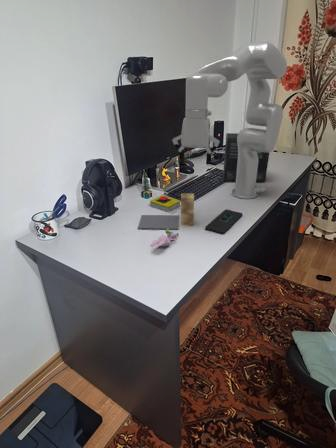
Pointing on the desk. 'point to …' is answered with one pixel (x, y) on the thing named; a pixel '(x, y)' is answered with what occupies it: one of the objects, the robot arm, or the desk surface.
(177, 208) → the emergency button
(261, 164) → the headset box
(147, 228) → the charcoal mat
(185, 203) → the oak block
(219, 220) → the smart home device
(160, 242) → the pink creature figurine
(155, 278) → the desk surface
